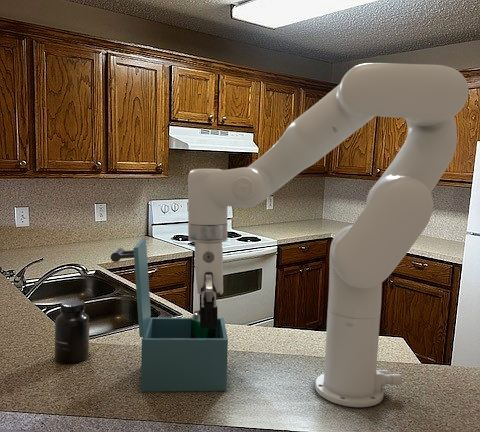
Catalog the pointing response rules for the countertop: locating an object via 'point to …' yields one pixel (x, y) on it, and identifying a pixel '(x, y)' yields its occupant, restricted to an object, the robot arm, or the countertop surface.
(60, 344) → the supplement bottle
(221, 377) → the teal box
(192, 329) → the soda can
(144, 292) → the teal box lid
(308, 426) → the countertop surface
